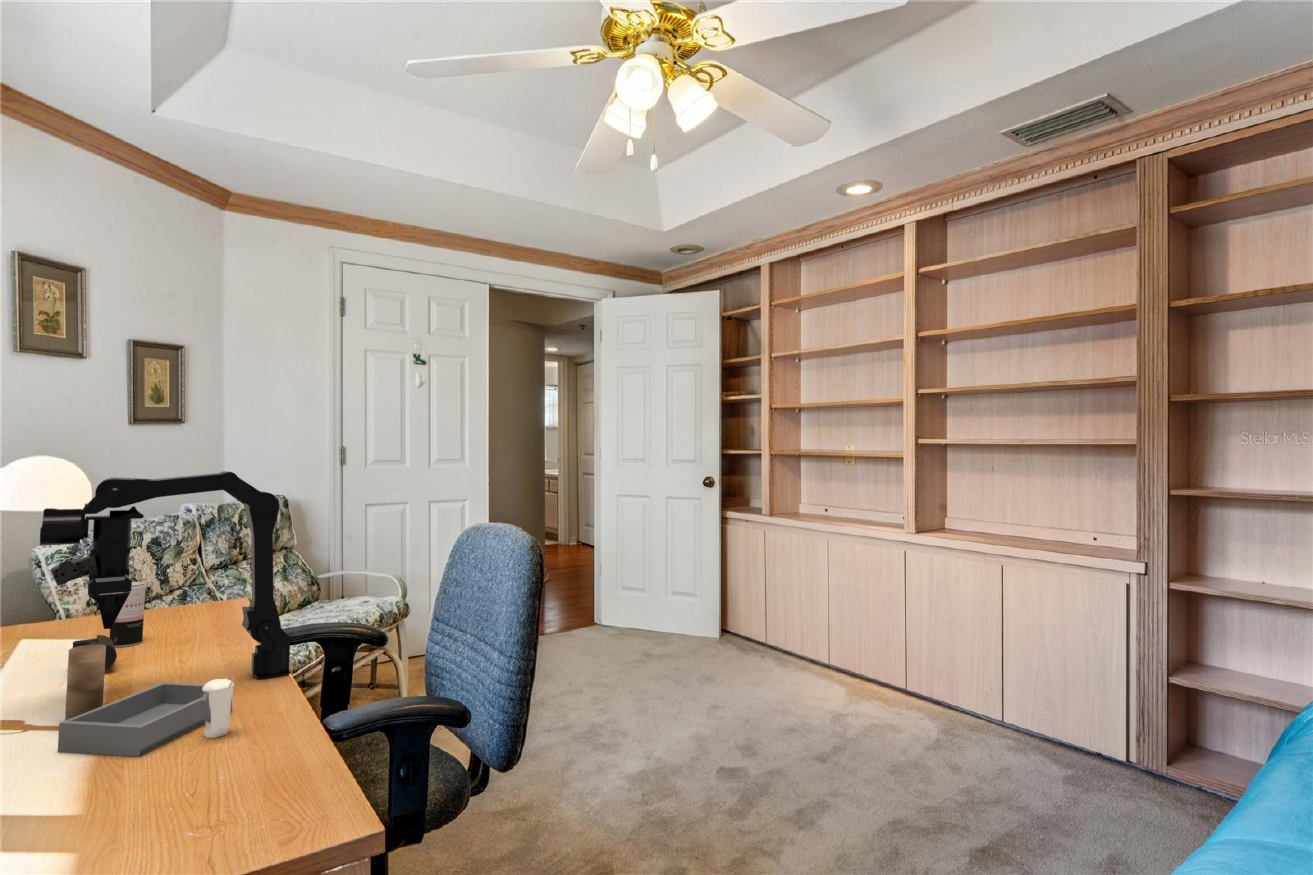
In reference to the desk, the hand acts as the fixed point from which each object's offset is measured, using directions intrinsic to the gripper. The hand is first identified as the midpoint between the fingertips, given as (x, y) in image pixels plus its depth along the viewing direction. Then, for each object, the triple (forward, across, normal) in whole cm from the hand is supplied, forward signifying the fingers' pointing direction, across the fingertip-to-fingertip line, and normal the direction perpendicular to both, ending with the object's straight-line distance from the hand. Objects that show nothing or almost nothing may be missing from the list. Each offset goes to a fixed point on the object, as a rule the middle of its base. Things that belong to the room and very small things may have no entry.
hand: (107, 624), depth 128 cm
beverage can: (+15, -47, +4) cm, 50 cm away
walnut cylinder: (+15, +11, -3) cm, 19 cm away
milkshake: (+15, +31, +15) cm, 38 cm away
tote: (+15, +22, +6) cm, 27 cm away
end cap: (+15, -25, -2) cm, 29 cm away
